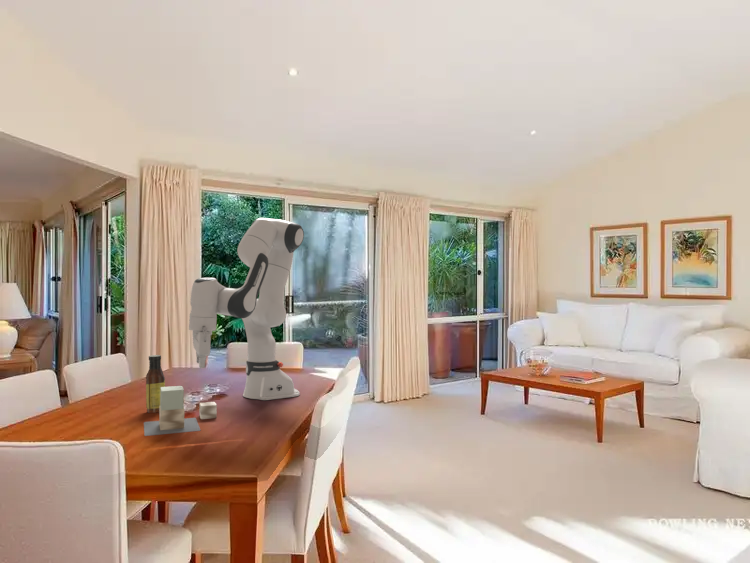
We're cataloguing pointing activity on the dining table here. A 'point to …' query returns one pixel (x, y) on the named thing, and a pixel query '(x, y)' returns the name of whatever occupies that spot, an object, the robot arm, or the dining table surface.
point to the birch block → (171, 419)
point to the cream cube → (208, 410)
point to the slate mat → (154, 429)
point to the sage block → (172, 398)
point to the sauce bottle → (154, 384)
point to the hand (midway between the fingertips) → (200, 365)
